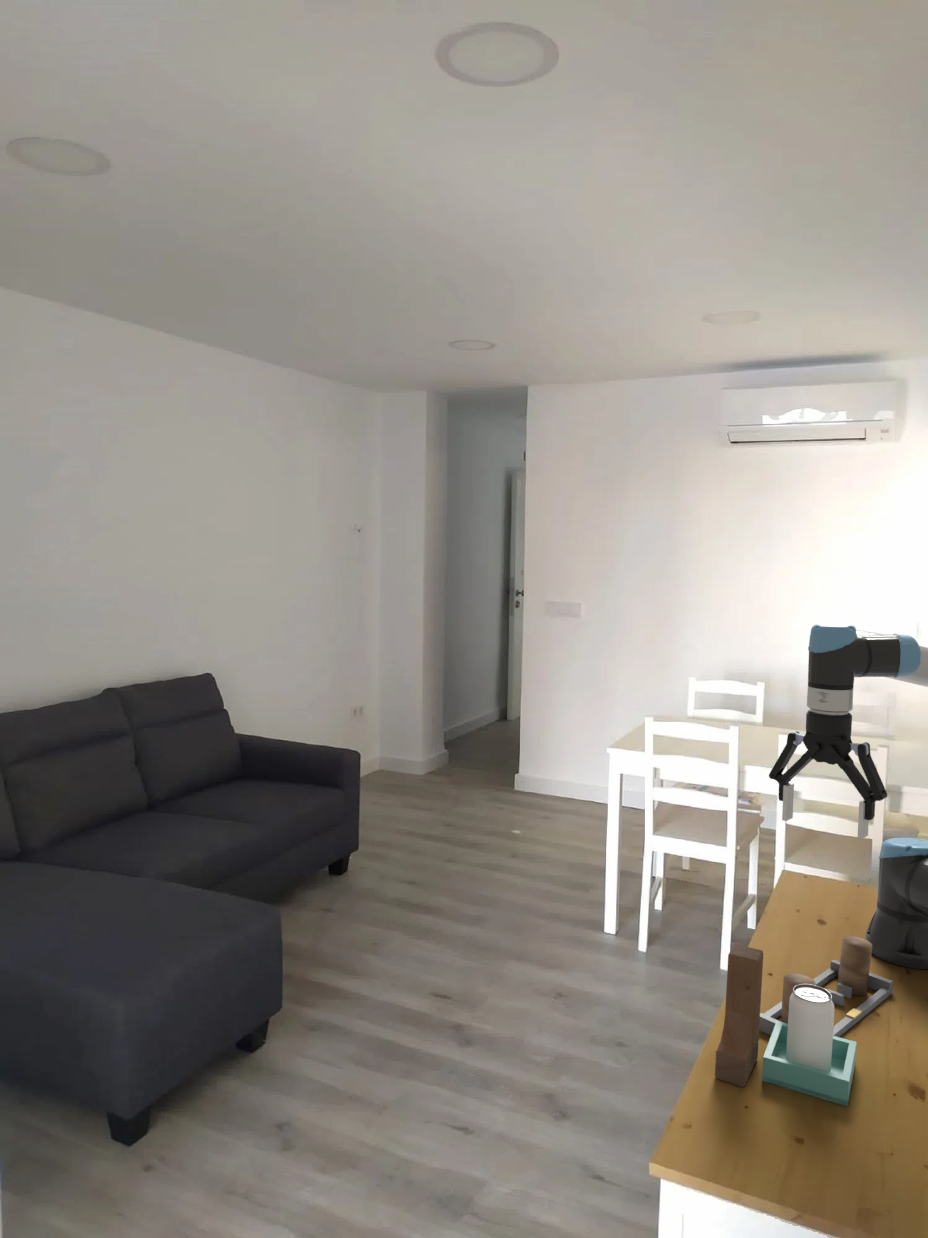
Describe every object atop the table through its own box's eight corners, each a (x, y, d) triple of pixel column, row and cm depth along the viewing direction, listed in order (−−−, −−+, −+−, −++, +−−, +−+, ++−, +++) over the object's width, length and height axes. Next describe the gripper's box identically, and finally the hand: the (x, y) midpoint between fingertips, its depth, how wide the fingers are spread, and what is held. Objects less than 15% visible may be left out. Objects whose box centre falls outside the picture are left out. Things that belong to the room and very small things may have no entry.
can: (833, 1083, 134) (838, 1006, 133) (788, 1076, 135) (792, 1000, 134) (826, 1059, 140) (831, 985, 139) (783, 1052, 142) (787, 980, 141)
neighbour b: (796, 1022, 153) (799, 971, 152) (819, 1037, 148) (822, 985, 147) (774, 1027, 151) (777, 976, 150) (795, 1043, 146) (799, 990, 145)
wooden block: (744, 1089, 133) (750, 973, 132) (714, 1079, 136) (720, 965, 134) (757, 1059, 141) (764, 950, 139) (729, 1051, 143) (734, 942, 142)
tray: (775, 1043, 146) (776, 1020, 146) (855, 1065, 140) (856, 1042, 140) (761, 1081, 135) (763, 1057, 135) (847, 1106, 130) (849, 1081, 129)
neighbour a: (857, 982, 167) (862, 936, 166) (872, 996, 162) (877, 949, 161) (832, 982, 167) (837, 936, 166) (846, 996, 162) (851, 948, 161)
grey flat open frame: (832, 971, 171) (833, 959, 171) (892, 993, 163) (893, 981, 163) (753, 1027, 150) (753, 1014, 150) (817, 1056, 142) (818, 1042, 142)
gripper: (753, 703, 164) (748, 816, 166) (895, 724, 147) (888, 850, 148) (772, 699, 169) (767, 808, 171) (911, 718, 152) (904, 839, 154)
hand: (823, 828), depth 160 cm, fingers open, 13 cm apart
